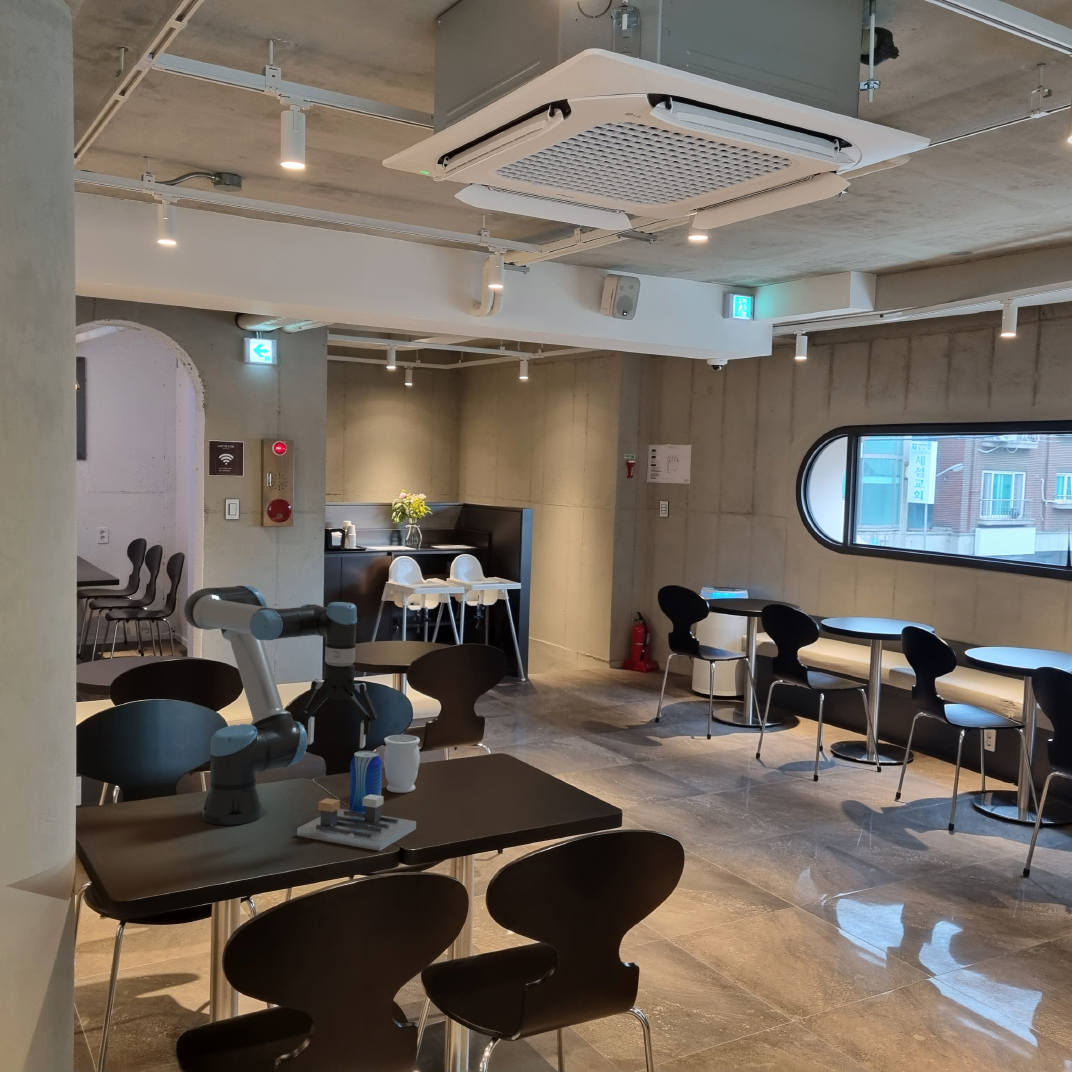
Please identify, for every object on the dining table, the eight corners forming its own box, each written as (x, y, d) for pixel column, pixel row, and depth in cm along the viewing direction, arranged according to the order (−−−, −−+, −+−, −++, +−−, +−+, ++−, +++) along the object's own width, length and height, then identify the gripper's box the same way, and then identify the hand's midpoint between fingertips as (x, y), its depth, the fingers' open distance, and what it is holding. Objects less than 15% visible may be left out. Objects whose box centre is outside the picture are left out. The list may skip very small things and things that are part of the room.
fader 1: (318, 825, 254) (318, 802, 254) (326, 821, 258) (326, 798, 257) (331, 827, 253) (332, 804, 253) (339, 823, 256) (339, 800, 256)
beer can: (374, 818, 268) (375, 758, 268) (344, 815, 270) (345, 756, 269) (385, 808, 277) (386, 751, 276) (356, 806, 278) (357, 748, 278)
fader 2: (362, 820, 259) (362, 797, 258) (369, 817, 262) (370, 794, 262) (375, 823, 257) (376, 800, 257) (383, 819, 261) (383, 796, 260)
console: (297, 835, 253) (297, 825, 253) (337, 815, 270) (337, 805, 269) (379, 850, 244) (380, 840, 244) (416, 828, 261) (416, 819, 260)
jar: (380, 785, 299) (381, 735, 298) (415, 783, 302) (416, 733, 301) (386, 795, 289) (387, 743, 288) (421, 793, 292) (423, 742, 291)
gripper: (287, 662, 254) (284, 745, 255) (384, 669, 253) (380, 752, 254) (296, 657, 262) (293, 737, 263) (391, 663, 260) (387, 744, 261)
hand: (336, 745), depth 258 cm, fingers open, 13 cm apart
